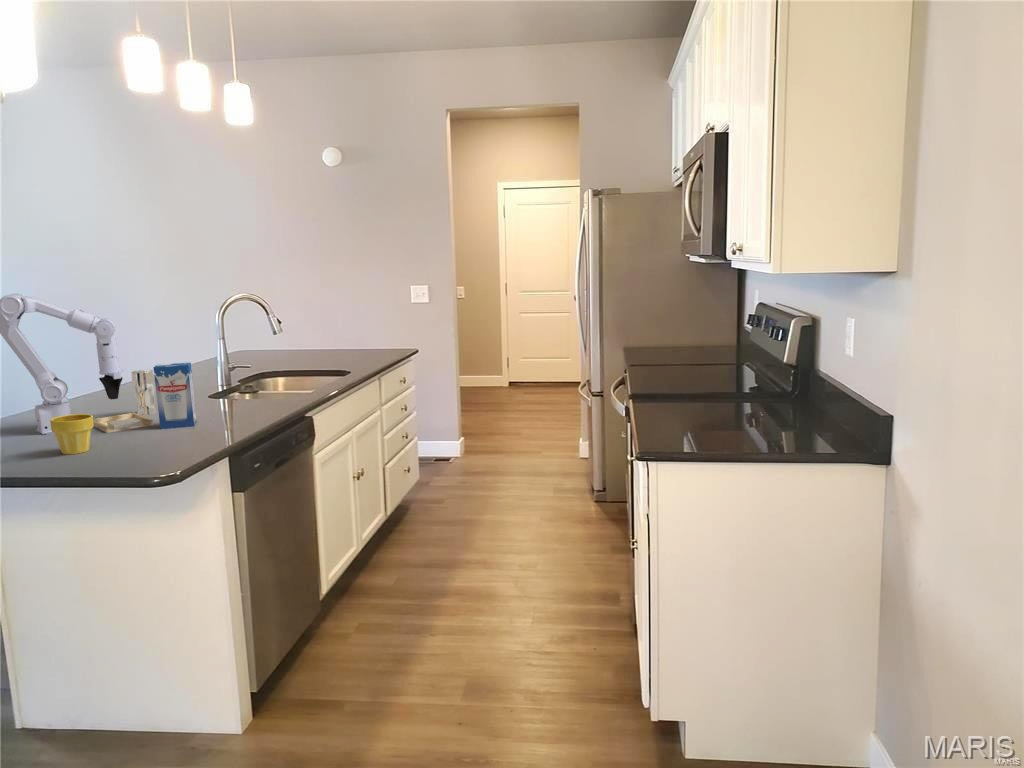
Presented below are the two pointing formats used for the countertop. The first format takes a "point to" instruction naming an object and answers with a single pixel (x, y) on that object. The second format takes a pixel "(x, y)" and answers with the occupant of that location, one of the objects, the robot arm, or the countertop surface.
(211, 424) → the countertop surface
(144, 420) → the tray
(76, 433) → the plant pot
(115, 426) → the cover plate
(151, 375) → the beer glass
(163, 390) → the milk carton
